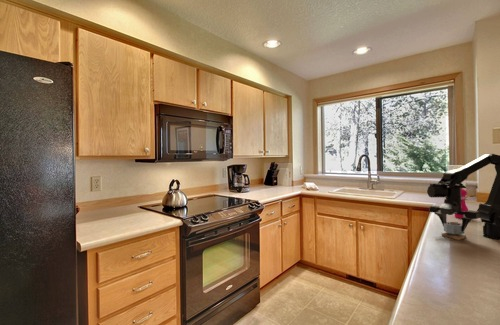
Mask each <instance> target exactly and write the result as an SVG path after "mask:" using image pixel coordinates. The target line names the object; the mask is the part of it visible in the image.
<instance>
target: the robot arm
mask: <svg viewBox="0 0 500 325" xmlns="http://www.w3.org/2000/svg"><path fill="white" fill-rule="evenodd" d="M488 165H494V169H495V172H496V174H495V177H494V180H493V183H492V184H491V185H492V186H491V188H490V192H489V195H488V197H487V200H486V201H485V202H484V203H482V202H481V203H480V202H479V205H478V209H477V210H470V209H468V211H461V210H462V208H461V202H462V200H461V188H462V189H467V186H466V185H464V184H463V183H464V182H465V181H466V180H467V179H468V177H469V176H470V175H471V174H474V173H475V172H477V171H479V170H480V169H483V168H485V167H486V166H488ZM442 175H443V176H442V178H441V179H440V180H438V183H433V182H432V183H429V186H428V187H427V190H426V191H427V195H428V197H429V198H444V201H443V203H441V205H431V206H429V208H428V212H429V213H433V214H434V215H436V216H437V217H438V218H439V220H440V222H441V224H442V226H443V228H444V222H447V215H449V216H452V215H455V214H459V215H464V217H462V218H461V222H462V223H461V224H462V231H463V232H464V233H465V230H466V228H467V226H468V225H469V223H470V222H471V220H478V219H480V221H481V223H484V225H482V234H483V235H482V236H483V237H485V238H490V239H495V240H499V241H500V154H496V153H484V154H482V155H481V156H479V157H478V158H476V159H474V160H471V162H468V163H467V164H464V165H463V166H461V167H459V168H455V169H449V170H448V171H445V172H443V174H442Z"/></svg>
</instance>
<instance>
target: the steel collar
mask: <svg viewBox="0 0 500 325" xmlns="http://www.w3.org/2000/svg"><path fill="white" fill-rule="evenodd" d="M443 231H444V233H445V232H447V233H452V234H464V235H465V231H464V232H463V231H462V223H460V222H458V225H452V224H449V221H446V222H444V227H443Z"/></svg>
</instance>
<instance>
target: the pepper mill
mask: <svg viewBox="0 0 500 325" xmlns="http://www.w3.org/2000/svg"><path fill="white" fill-rule="evenodd" d="M467 195H468V192H467V190H466V189H465V188H461V200H462V202H461V208H462V210H461V211H469V208H468V206H467V204H466V199H467V197H466V196H467ZM462 217H464V215H459V214H454V218H456V219H462Z"/></svg>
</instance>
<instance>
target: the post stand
mask: <svg viewBox="0 0 500 325" xmlns="http://www.w3.org/2000/svg"><path fill="white" fill-rule="evenodd" d="M448 222H449V224H452V225H458V223H459V222H458V221H455V220H454V221H453V220H449V221H448ZM441 237H445V238H449V239H454V240H457V241H460V240H463V239H465V238H467V235H466V234H465V233H464V234H452V233H447V232H445V231H444V232H443V233H441Z"/></svg>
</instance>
